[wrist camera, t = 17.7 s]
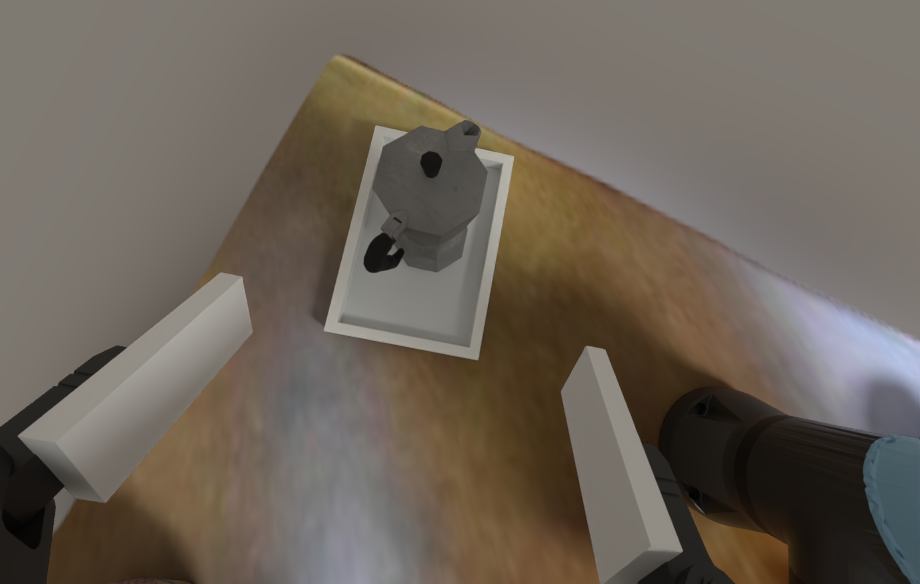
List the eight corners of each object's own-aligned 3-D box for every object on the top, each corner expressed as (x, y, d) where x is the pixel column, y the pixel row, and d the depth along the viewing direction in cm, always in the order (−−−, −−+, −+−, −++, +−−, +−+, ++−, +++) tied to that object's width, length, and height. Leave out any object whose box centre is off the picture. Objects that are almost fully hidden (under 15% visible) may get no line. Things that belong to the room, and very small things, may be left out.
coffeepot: (429, 174, 44) (430, 59, 26) (491, 216, 44) (533, 129, 26) (354, 271, 41) (299, 217, 24) (420, 317, 41) (413, 296, 23)
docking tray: (509, 166, 46) (514, 156, 44) (475, 359, 42) (478, 360, 39) (378, 137, 45) (375, 125, 43) (330, 331, 41) (323, 330, 38)
